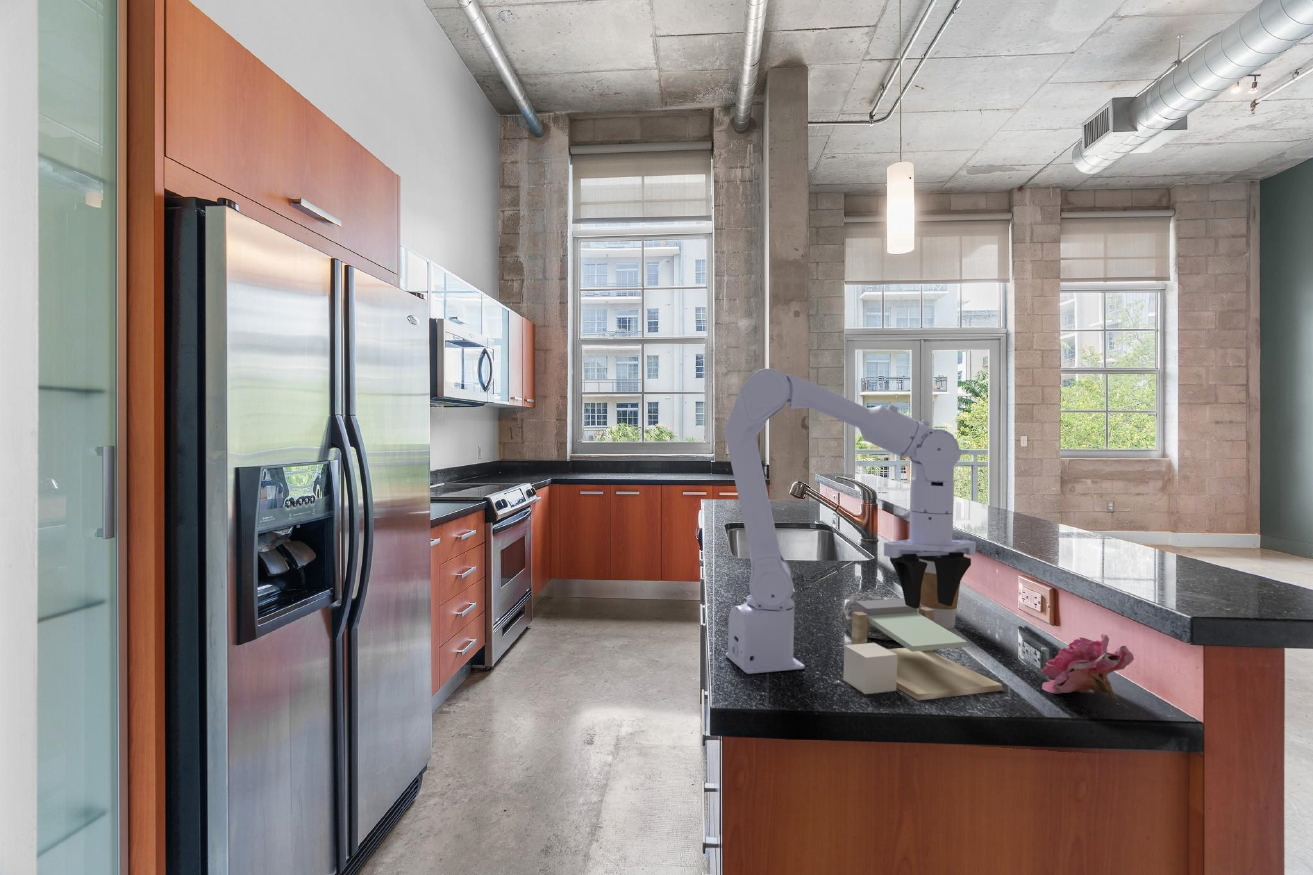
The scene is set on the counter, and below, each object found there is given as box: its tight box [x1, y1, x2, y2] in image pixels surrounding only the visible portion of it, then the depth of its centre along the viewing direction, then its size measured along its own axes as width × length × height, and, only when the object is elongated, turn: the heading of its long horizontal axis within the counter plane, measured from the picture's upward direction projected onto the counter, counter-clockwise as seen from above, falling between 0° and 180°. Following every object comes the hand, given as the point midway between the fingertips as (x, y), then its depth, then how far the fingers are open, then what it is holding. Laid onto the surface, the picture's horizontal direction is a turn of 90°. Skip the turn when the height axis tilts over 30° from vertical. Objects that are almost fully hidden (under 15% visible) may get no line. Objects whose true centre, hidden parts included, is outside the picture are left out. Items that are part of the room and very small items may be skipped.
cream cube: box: [842, 642, 897, 695], centre depth 86 cm, size 5×5×5 cm
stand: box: [850, 607, 1003, 701], centre depth 91 cm, size 14×16×8 cm
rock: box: [841, 594, 921, 641], centre depth 110 cm, size 13×6×15 cm
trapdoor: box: [855, 597, 968, 652], centre depth 94 cm, size 9×14×3 cm
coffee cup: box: [917, 556, 961, 630], centre depth 117 cm, size 8×8×15 cm
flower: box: [1041, 633, 1135, 709], centre depth 84 cm, size 11×10×10 cm
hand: (928, 605), depth 90 cm, fingers open, 5 cm apart
